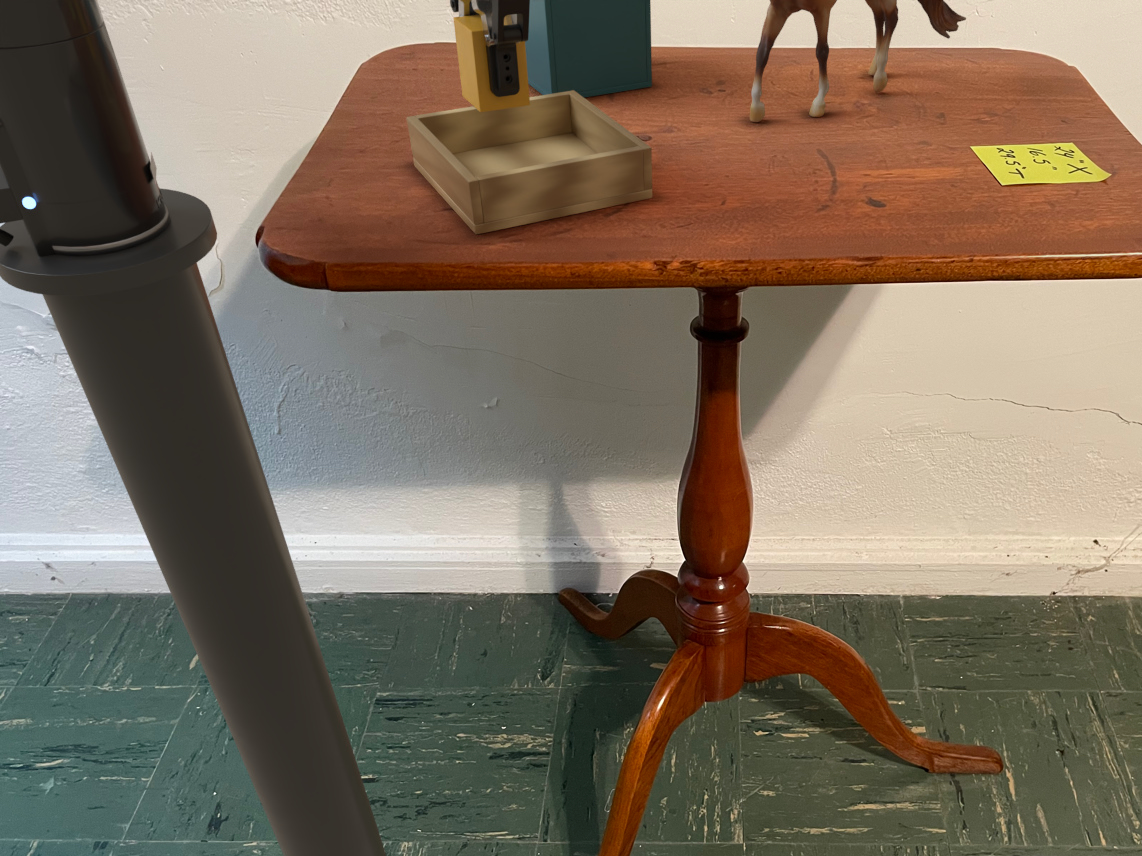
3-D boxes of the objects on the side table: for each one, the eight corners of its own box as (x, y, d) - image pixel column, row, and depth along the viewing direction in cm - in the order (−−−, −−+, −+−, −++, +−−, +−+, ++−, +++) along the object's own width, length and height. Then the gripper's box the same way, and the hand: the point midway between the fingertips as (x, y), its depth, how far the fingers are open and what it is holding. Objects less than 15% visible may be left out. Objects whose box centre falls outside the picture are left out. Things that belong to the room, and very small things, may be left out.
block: (480, 112, 85) (471, 31, 81) (462, 96, 87) (453, 17, 84) (530, 105, 86) (524, 25, 82) (511, 89, 89) (504, 11, 85)
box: (475, 235, 84) (468, 181, 82) (414, 166, 95) (405, 116, 92) (652, 198, 90) (651, 147, 88) (577, 137, 101) (573, 89, 98)
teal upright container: (552, 103, 107) (543, -13, 101) (511, 70, 115) (500, -40, 108) (652, 86, 112) (650, -26, 105) (606, 56, 119) (601, -50, 112)
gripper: (386, -181, 78) (421, 65, 89) (451, -151, 69) (480, 120, 80) (485, -184, 81) (506, 55, 92) (560, -156, 72) (573, 106, 83)
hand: (494, 84), depth 86 cm, fingers closed on block, 4 cm apart
